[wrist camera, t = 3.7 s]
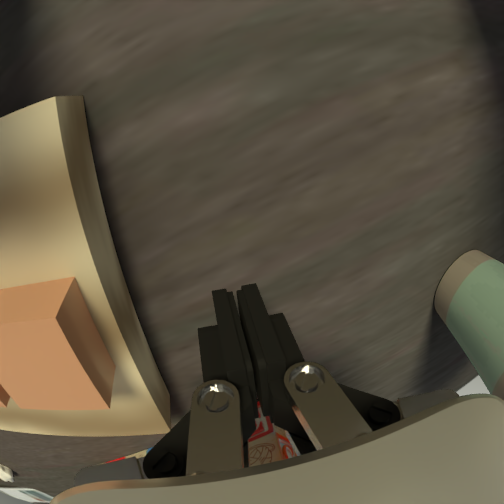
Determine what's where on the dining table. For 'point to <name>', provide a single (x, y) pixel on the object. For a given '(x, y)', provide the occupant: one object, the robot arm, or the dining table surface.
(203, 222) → the dining table surface
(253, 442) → the stack of blocks
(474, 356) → the coffee cup
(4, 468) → the acanthus leaf ornament
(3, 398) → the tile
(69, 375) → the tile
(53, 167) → the board
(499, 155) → the dining table surface
